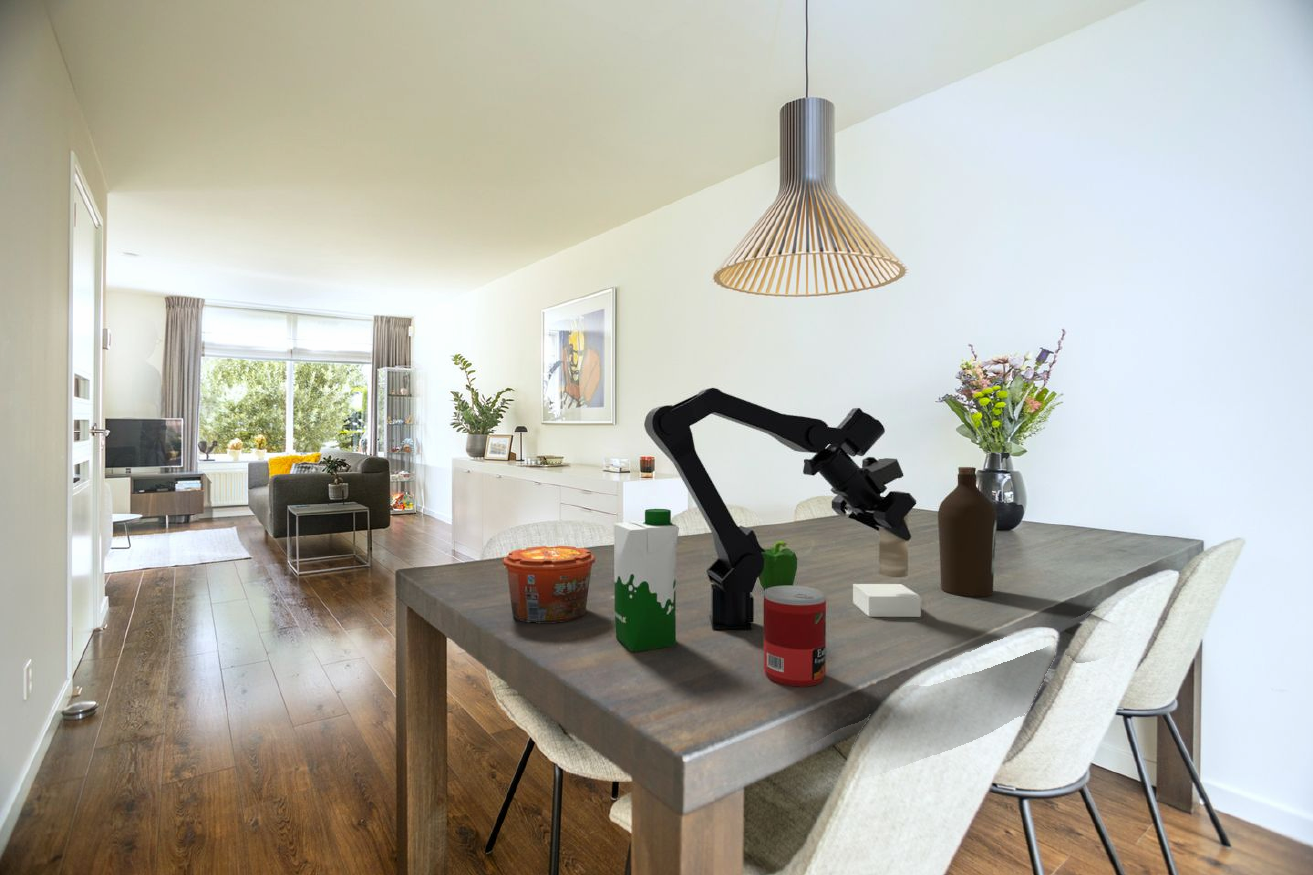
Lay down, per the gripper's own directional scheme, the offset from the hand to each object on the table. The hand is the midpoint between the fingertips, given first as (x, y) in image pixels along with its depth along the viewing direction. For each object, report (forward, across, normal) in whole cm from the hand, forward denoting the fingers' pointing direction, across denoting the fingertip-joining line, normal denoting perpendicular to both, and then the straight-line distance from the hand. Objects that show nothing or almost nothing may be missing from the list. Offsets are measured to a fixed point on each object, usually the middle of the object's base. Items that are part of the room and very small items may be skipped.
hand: (900, 536), depth 110 cm
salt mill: (+4, 0, +6) cm, 7 cm away
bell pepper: (-1, +21, +20) cm, 29 cm away
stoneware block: (+8, +2, +10) cm, 14 cm away
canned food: (-12, -23, +32) cm, 41 cm away
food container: (-33, +13, +53) cm, 64 cm away
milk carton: (-24, -6, +43) cm, 50 cm away
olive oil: (+25, +10, -6) cm, 28 cm away
